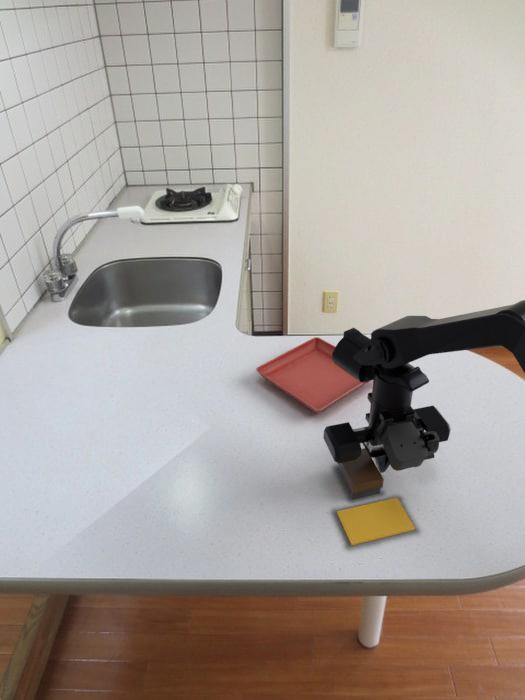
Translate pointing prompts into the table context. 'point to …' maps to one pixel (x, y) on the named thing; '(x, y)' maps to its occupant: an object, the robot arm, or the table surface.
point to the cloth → (375, 521)
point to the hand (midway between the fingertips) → (381, 470)
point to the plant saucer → (310, 375)
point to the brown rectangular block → (361, 476)
